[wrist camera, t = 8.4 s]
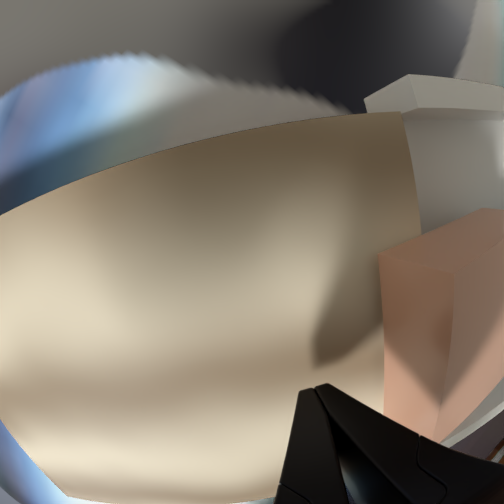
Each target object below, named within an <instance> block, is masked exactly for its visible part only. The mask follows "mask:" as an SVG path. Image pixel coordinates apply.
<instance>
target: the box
mask: <svg viewBox="0 0 504 504" xmlns="http://www.w3.org/2000/svg"><path fill="white" fill-rule="evenodd" d="M364 102H365V106H366V109H367V113H377V112H396V111H401V115H402V119H403V123H404V127H405V132H406V136H407V141H408V145H409V150H410V155H411V160H412V166H413V172H414V178H415V184H416V191H417V198H418V205H419V214H420V223H421V234H422V235H423V234H425V233H428V232H430V231H432V230H434V229H437V228H439V227H441V226H443V225H445V224H448V223H450V222H452V221H454V220H456V219H459V218H461V217H463V216H465V215H467V214H469V213H472V212H474V211H476V210H478V209H480V208H492V209H502V210H504V87H501V86H496V85H491V84H486V83H481V82H475V81H469V80H462V79H455V78H447V77H437V76H427V75H412V74H408V75H406V76H404V77H402V78H400V79H398V80H397V81H395V82H393V83H391V84H389V85H387V86H386V87H384V88H382V89H380V90H379V91H377V92H375V93H373V94H372V95H370V96H368V97H366V98H365V99H364ZM503 409H504V377H503V378H502V379H501V381H500V382H499V383H498V384H497V385H496V386H495V388H494V389H493V390H492V391H491V392H490V393H489V395H488V396H487V397H486V398H485V399H484V400H483V401H482V402H481V403H480V404H479V406H478V407H477V408H476V409H475V410H474V411H473V412H472V413H471V414H470V415H469V416H468V417H467V418H466V419H465V420H464V421H463V422H462V423H461V424H460V425H459V426H458V427H457V428H456V429H455V430H453V431H452V432H451V433H450V434H449V435H448V436H447V437H446V438H445V439H443V440H442V441H441V442H440V443H439V444H441V445H443V446H446V447H448V448H449V447H451V446H452V445H454V444H455V443H457V442H459V441H460V440H462V439H463V438H465V437H466V436H468V435H469V434H471V433H472V432H474V431H475V430H477V429H478V428H480V427H481V426H482V425H484V424H485V423H486V422H488V421H489V420H490V419H492V418H493V417H494V416H496V415H497V414H498V413H500V412H501V411H502V410H503Z"/></svg>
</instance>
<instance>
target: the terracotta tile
mask: <svg viewBox="0 0 504 504" xmlns="http://www.w3.org/2000/svg"><path fill="white" fill-rule="evenodd" d="M377 255H378V264H379V274H380V284H381V296H382V310H383V329H384V407H383V415H385V416H386V417H388V418H390V419H392V420H394V421H396V422H397V423H399V424H401V425H403V426H405V427H407V428H409V429H411V430H412V431H414V432H416V433H418V434H419V436H420V435H422V436H424V437H426V438H428V439H430V440H432V441H435V442H437V443H440V442H441V441H442V440H443V439H445V438H446V437H447V436H448V435H449V434H450V433H451V432H452V431H453V430H455V429H456V428H457V427H458V426H459V425H460V424H461V423H462V422H463V421H464V420H465V419H466V418H467V417H468V416H469V415H470V414H471V413H472V412H473V411H474V410H475V409H476V408H477V407H478V406H479V404H480V403H481V402H482V401H483V400H484V399H485V398H486V397H487V396H488V395H489V393H490V392H491V391H492V390H493V389H494V388H495V386H496V385H497V384H498V383H499V382H500V381H501V379H502V378H503V377H504V210H502V209H492V208H480V209H478V210H476V211H474V212H472V213H469V214H467V215H465V216H463V217H461V218H459V219H456V220H454V221H452V222H450V223H448V224H445V225H443V226H441V227H439V228H437V229H434V230H432V231H430V232H428V233H425V234H423V235H421V236H418V237H416V238H414V239H411V240H409V241H407V242H404V243H402V244H400V245H397V246H395V247H393V248H390V249H388V250H385V251H383V252H381V253H378V254H377Z"/></svg>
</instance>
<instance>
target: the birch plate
mask: <svg viewBox="0 0 504 504" xmlns="http://www.w3.org/2000/svg"><path fill="white" fill-rule="evenodd" d="M421 235H422V234H421V223H420V214H419V205H418V198H417V191H416V184H415V178H414V172H413V166H412V160H411V155H410V150H409V145H408V141H407V136H406V132H405V127H404V123H403V119H402V115H401V111H396V112H377V113H364V114H352V115H342V116H332V117H324V118H316V119H309V120H302V121H295V122H288V123H282V124H276V125H271V126H265V127H260V128H255V129H249V130H245V131H240V132H235V133H230V134H226V135H221V136H217V137H213V138H209V139H205V140H201V141H197V142H193V143H189V144H185V145H182V146H178V147H174V148H171V149H167V150H164V151H160V152H157V153H154V154H150V155H147V156H144V157H141V158H138V159H135V160H132V161H129V162H126V163H123V164H120V165H117V166H114V167H111V168H108V169H106V170H103V171H100V172H97V173H95V174H92V175H89V176H87V177H84V178H82V179H79V180H77V181H74V182H72V183H69V184H67V185H64V186H62V187H60V188H57V189H55V190H53V191H50V192H48V193H46V194H44V195H41V196H39V197H37V198H35V199H33V200H31V201H29V202H26V203H24V204H22V205H20V206H18V207H16V208H14V209H12V210H10V211H8V212H6V213H4V214H2V215H1V216H0V419H1V421H2V422H3V424H4V425H5V426H6V428H7V429H8V431H9V432H10V433H11V435H12V436H13V437H14V438H15V440H16V441H17V442H18V444H19V445H20V446H21V447H22V449H23V450H24V451H25V452H26V453H27V455H28V456H29V457H30V458H31V459H32V460H33V462H34V463H35V464H36V465H37V466H38V467H39V468H40V469H41V470H42V471H43V473H44V474H45V475H46V476H47V477H48V478H49V479H50V480H51V481H52V482H53V483H54V484H55V485H56V486H57V487H58V488H59V489H60V490H61V491H62V492H63V493H64V494H65V495H66V496H69V497H74V498H79V499H84V500H90V501H97V502H104V503H112V504H232V503H240V502H247V501H254V500H260V499H266V498H271V497H275V495H276V491H277V488H278V485H279V480H280V476H281V472H282V468H283V464H284V459H285V455H286V451H287V446H288V441H289V437H290V432H291V427H292V422H293V417H294V412H295V407H296V402H297V396H298V392H299V391H300V390H303V389H307V388H311V387H312V388H314V387H315V386H318V385H321V384H325V383H330V384H331V385H333V386H335V387H336V388H338V389H340V390H341V391H343V392H345V393H346V394H348V395H350V396H351V397H353V398H355V399H356V400H358V401H360V402H362V403H363V404H365V405H367V406H369V407H370V408H372V409H374V410H376V411H377V412H379V413H381V414H383V407H384V329H383V310H382V296H381V284H380V274H379V264H378V255H377V254H378V253H381V252H383V251H385V250H388V249H390V248H393V247H395V246H397V245H400V244H402V243H404V242H407V241H409V240H411V239H414V238H416V237H418V236H421Z"/></svg>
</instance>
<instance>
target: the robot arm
mask: <svg viewBox="0 0 504 504" xmlns="http://www.w3.org/2000/svg"><path fill="white" fill-rule="evenodd" d="M344 482H345V483H344ZM345 484H346V486H347V488H348V490H349V492H350V494H351V496H352V498H353V500H354V502H355V504H504V464H500V463H496V462H493V461H489V460H485V459H482V458H478V457H475V456H471V455H468V454H465V453H462V452H459V451H456V450H453V449H451V448H448V447H446V446H443V445H441V444H439V443H437V442H435V441H432V440H430V439H428V438H426V437H424V436H422V435H420V436H419V434H418V433H416V432H414V431H412V430H411V429H409V428H407V427H405V426H403V425H401V424H399V423H397V422H396V421H394V420H392V419H390V418H388V417H386V416H385V415H383V414H381V413H379V412H377V411H376V410H374V409H372V408H370V407H369V406H367V405H365V404H363V403H362V402H360V401H358V400H356V399H355V398H353V397H351V396H350V395H348V394H346V393H345V392H343V391H341V390H340V389H338V388H336V387H335V386H333V385H331V384H330V383H325V384H321V385H318V386H315V387H314V388H312V387H311V388H307V389H303V390H300V391H299V392H298V396H297V402H296V407H295V412H294V417H293V422H292V427H291V432H290V437H289V441H288V446H287V451H286V455H285V459H284V464H283V468H282V472H281V476H280V480H279V485H278V488H277V491H276V495H275V499H274V502H273V504H349V501H348V496H347V492H346V488H345Z"/></svg>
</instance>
